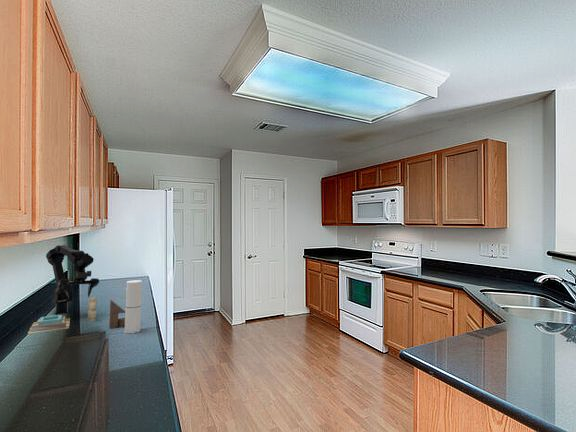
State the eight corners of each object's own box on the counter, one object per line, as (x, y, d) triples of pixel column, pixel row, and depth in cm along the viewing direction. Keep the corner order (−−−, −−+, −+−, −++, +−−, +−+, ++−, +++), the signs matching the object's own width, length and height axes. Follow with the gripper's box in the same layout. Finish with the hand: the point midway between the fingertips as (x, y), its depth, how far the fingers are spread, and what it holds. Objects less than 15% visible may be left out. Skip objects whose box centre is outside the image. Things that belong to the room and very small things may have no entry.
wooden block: (109, 326, 162) (110, 292, 163) (131, 323, 168) (133, 290, 169) (109, 328, 159) (111, 293, 160) (133, 325, 165) (134, 291, 166)
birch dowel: (87, 321, 170) (88, 297, 171) (95, 320, 172) (96, 296, 173) (87, 323, 167) (88, 299, 167) (96, 322, 169) (97, 298, 170)
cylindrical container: (124, 334, 151) (126, 282, 152) (124, 330, 157) (126, 280, 158) (140, 332, 154) (142, 282, 155) (140, 328, 160) (141, 279, 161)
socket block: (40, 325, 160) (40, 317, 160) (61, 322, 165) (62, 314, 165) (38, 330, 152) (38, 321, 153) (60, 327, 157) (61, 319, 157)
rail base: (33, 324, 164) (33, 317, 164) (70, 319, 173) (70, 313, 173) (27, 335, 147) (27, 328, 147) (68, 329, 156) (68, 323, 156)
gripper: (62, 265, 167) (61, 293, 160) (101, 265, 180) (102, 291, 173) (58, 273, 173) (57, 300, 166) (96, 273, 186) (96, 298, 179)
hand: (79, 297), depth 171 cm, fingers open, 9 cm apart
